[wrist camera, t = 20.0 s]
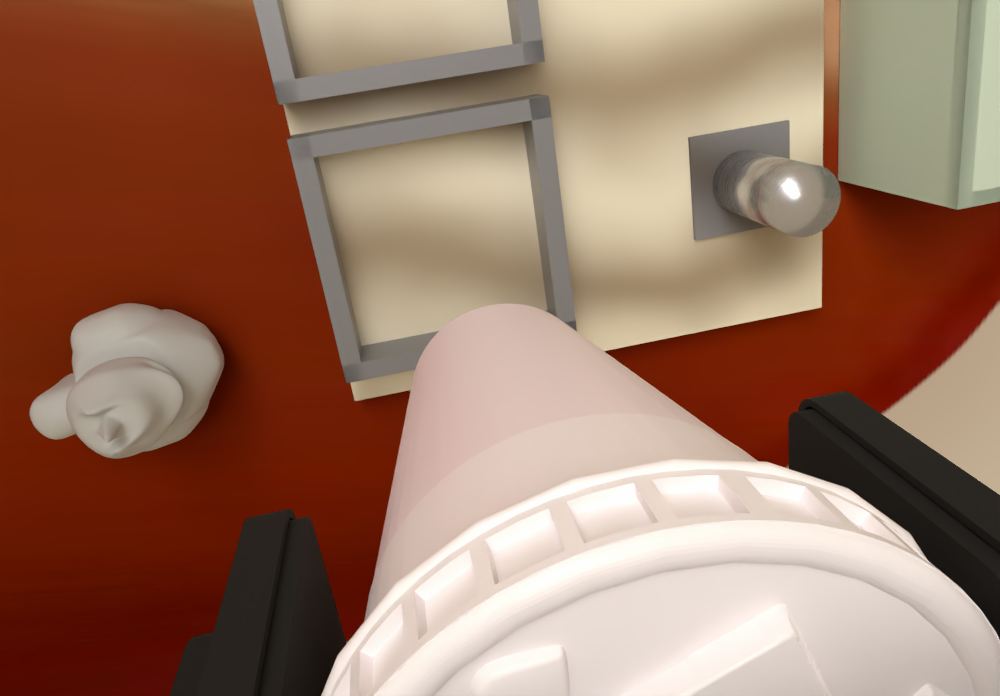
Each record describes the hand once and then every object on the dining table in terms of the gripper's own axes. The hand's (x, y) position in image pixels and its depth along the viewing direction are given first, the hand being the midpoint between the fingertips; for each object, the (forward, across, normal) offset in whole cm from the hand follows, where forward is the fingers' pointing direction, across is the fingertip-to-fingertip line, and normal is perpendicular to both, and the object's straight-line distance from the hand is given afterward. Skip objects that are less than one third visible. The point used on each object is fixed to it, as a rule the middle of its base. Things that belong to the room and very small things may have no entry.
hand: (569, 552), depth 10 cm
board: (+21, -6, -5) cm, 23 cm away
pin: (+20, -12, 0) cm, 24 cm away
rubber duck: (+22, +12, +3) cm, 25 cm away
